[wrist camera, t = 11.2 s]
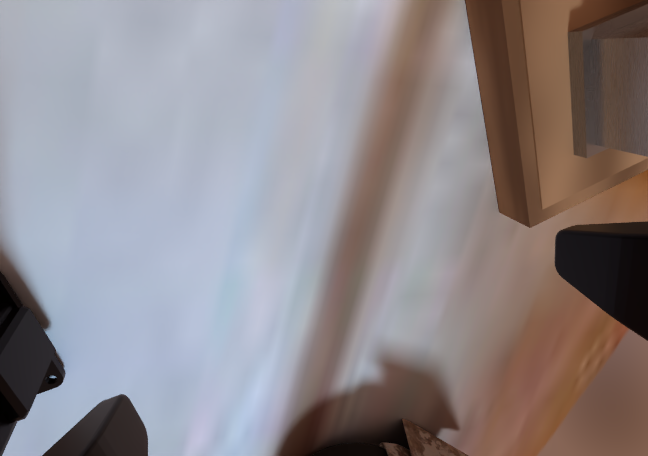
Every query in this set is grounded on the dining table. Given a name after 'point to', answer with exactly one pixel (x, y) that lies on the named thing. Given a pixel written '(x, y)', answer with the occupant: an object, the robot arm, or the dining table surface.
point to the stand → (538, 106)
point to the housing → (610, 83)
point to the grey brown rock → (397, 446)
